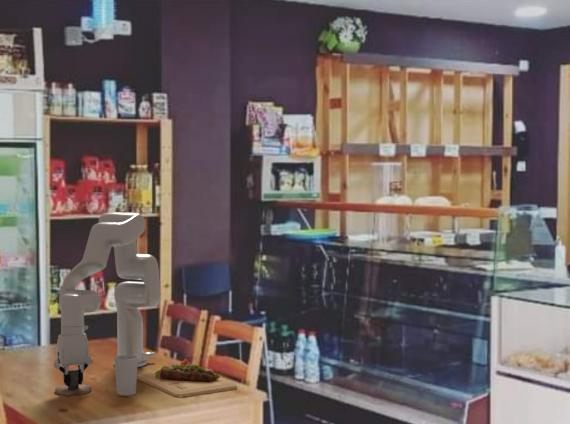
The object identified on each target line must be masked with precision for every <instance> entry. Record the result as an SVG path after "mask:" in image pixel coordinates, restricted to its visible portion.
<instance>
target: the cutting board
mask: <svg viewBox="0 0 570 424" xmlns="http://www.w3.org/2000/svg"><path fill="white" fill-rule="evenodd" d="M137 380H139V381H141V382H143V383H146V384H148V385H150V386H152V387H154V388H156V389H158V390H160V391H162V392H164V393H166V394H168V393H169V394H168V395H170V394H171V395H170V396H172V395H174V396H173V397H175V396H187V395H194V396H199V395H198V394H200V395H205V394H204V393H207V394H213V393H219V392H224V391H233V390H237V388H238V387H237V386H238V385H237V383H235V382H233V381H230V380H227V379H225V378H223V377H221V376H220V375H219V374H217V373H214V372H213V371H212V370H206V369H203V367H199V365H198V364H192V363H190V361H189V360H188V359H187V358H184V359H183V360H182V361H180V364H172V365H171V366H167V365H163V366H161V368H160V369H159V370H156V371H150V372H140V373H137ZM212 392H213V393H212Z"/></svg>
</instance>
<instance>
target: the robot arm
mask: <svg viewBox="0 0 570 424" xmlns="http://www.w3.org/2000/svg"><path fill="white" fill-rule="evenodd" d="M145 228H146V221H145V218H144V216H143V215H142V214H140V213H138V212H105V213H103V214H101V215H100V216H99V218H98V222H97V223H95V224H93V225H92V227H91V229H90V231H89V236H88V239H87V242H86V245H85V249H84V253H83V257H82V259H81V261H80V262H79V263H77V264H76V265H75V266H74V267H73V268H72V269H71V270H70V271H69V272H68V273H67V275H65V278H64V279H63V281H62V282H63V283H62V285H61V289H60V292H59V297H58V304H59V307H60V324H61V325H60V329H61V331H60V334H58V336H57V344H56V354H55V355H56V357H55V360H54V362H53V364H52V367H53V368H55V369H57V370H59V371H60V372H61V373H63V384H64V385H66V386H70V375H69V372H68V371H69V370H70V366H73V365H77V370H79V384H80V385H82V384H83V382H84V372H85V370H86V369H87V368H88V367H90V365H91V364H93V363H94V360H93V359H92V357H91V356H90V350H89V349H90V348H89V342H88V337H87V333H86V331H87V330H88V329H89V326H88V325H85V314H86V313H87V314H88V313H94V312H96V311H98V310H99V309H100V307H101V305H102V303H103V302H102V301H103V300H102V296H101V294H100V293H98V291H95V290H90V289H89V290H88V289H87V290H86V289H77V287H78V285H79V284H80V283H81V281H83V280H84V279H86V278H88V277H90V276H92V275H94V274H96V273H100V272H101V271H103V270H104V269H106V268H107V264H108V261H109V259H110V258H109V257H110V254H111V250H112V247H113V250H114V261H115V263H114V264H115V270H116V274H117V276H118V277H119V278H120V279H124V280H137V281H122V282H120V283H117V285H116V286H115V288H114V293H113V296H114V301H115V306H116V319H117V321H116V322H117V323H116V327H117V328H116V329H117V336H116V337H117V356H120V355H135V356H138V367H137V368H139V367H144V366H146V365H148V358H150V359H151V358H155V357H156V353H155V352H153V351H152V352H149V351H148V352H145V351H144V330H143V329H144V325H143V323H144V322H143V321H144V319H143V316H142V313H141V311H140V309H139V308H144V309H145V308H147V309H148V308H149V309H151V308H152V309H153V308H156V307H157V306H159V304H160V302H161V296H162V294H161V281H160V269H159V263H158V260H157V258H156V257H155V256H154V255H152V254H146V253H145V254H143V253H140V254H139V252H138V245H137V239H138V238H139V237H141V236H142V235H143V233H144V232H145V230H146V229H145ZM138 280H141V281H138ZM113 366H114V367H115V364H114V363H113Z"/></svg>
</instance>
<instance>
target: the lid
mask: <svg viewBox="0 0 570 424" xmlns="http://www.w3.org/2000/svg"><path fill="white" fill-rule="evenodd" d="M68 372H69V375H70V386H66V385H65V384H64V385H63V384H62V385H59V386H57V387H56V388H55V389H54V393H55V394H56V395H58V394H59V395H58V396H63V395H64V396H65V397H72V396H82V395H87V394H90V393H91V392H92V391H93V387H92V386H91V385H90V384H83V383H82V385H80V384H79V370H78V369H69V371H68Z"/></svg>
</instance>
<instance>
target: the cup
mask: <svg viewBox="0 0 570 424" xmlns="http://www.w3.org/2000/svg"><path fill="white" fill-rule="evenodd" d="M114 364H115V366H114V372H115V375H114V376H115V384H116V395H119V396H124V395H125V396H132V395H136V393H137V381H138V379H137V375H138V368H139V367H138V356H135V355H120V356H118V355H116V356H115V357H113V365H114Z"/></svg>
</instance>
